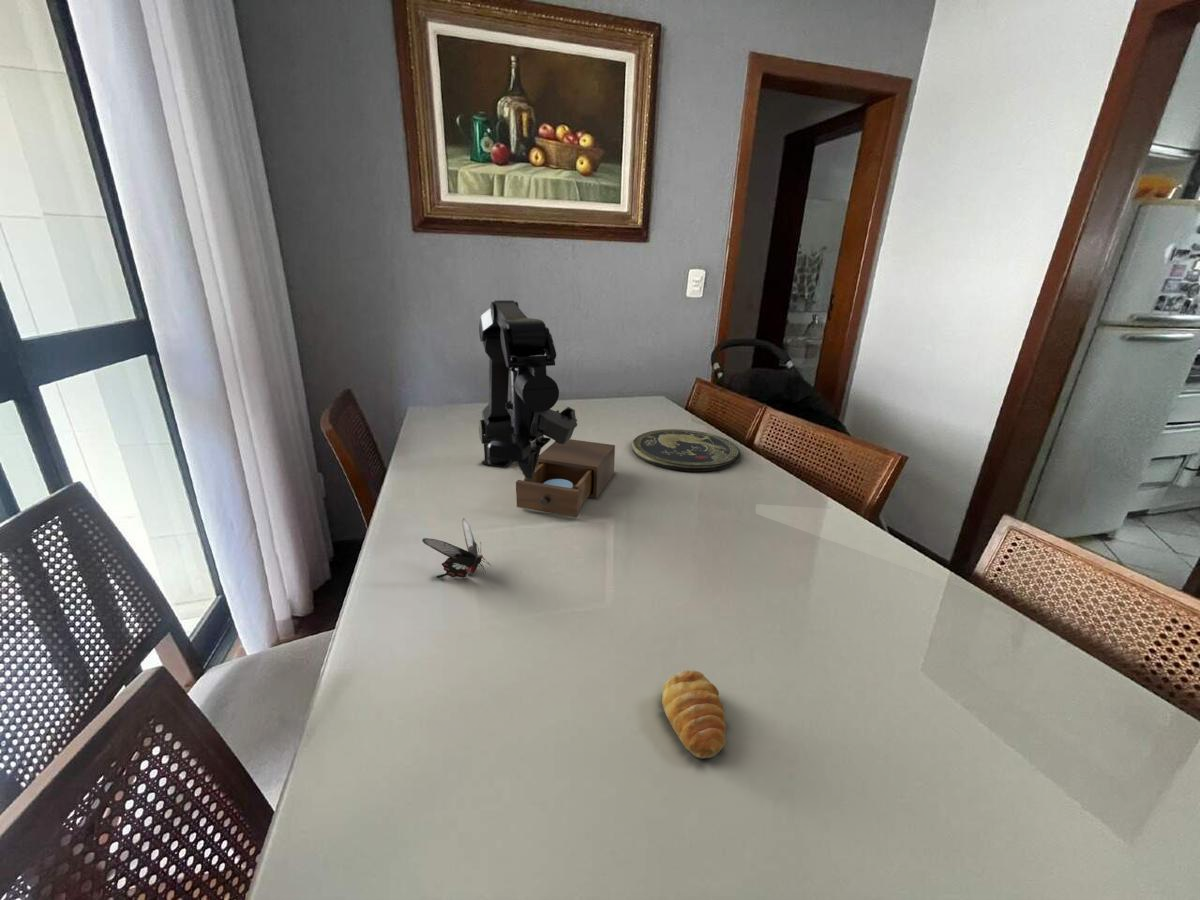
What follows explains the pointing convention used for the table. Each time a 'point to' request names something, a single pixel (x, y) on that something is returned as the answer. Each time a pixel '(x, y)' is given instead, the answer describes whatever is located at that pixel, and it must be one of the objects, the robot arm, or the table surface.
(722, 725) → the pastry
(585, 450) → the cabinet
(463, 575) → the butterfly
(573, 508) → the drawer
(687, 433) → the decorative plate
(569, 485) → the light blue disc
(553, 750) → the table surface
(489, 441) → the robot arm
